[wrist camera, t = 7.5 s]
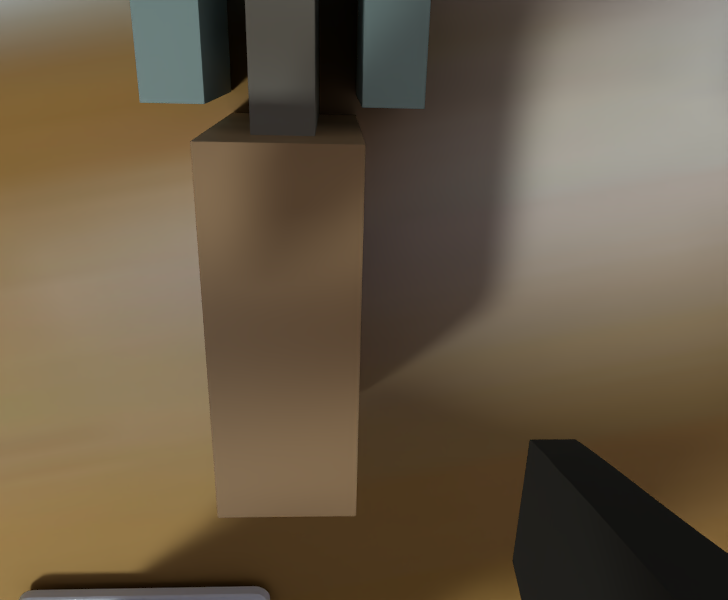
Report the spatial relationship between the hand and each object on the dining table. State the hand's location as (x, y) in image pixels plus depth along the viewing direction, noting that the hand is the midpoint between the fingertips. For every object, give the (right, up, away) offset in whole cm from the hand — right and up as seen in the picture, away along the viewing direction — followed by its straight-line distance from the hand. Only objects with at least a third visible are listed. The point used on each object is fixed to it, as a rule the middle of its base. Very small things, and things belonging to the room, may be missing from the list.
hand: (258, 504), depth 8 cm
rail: (0, +5, +8) cm, 10 cm away
